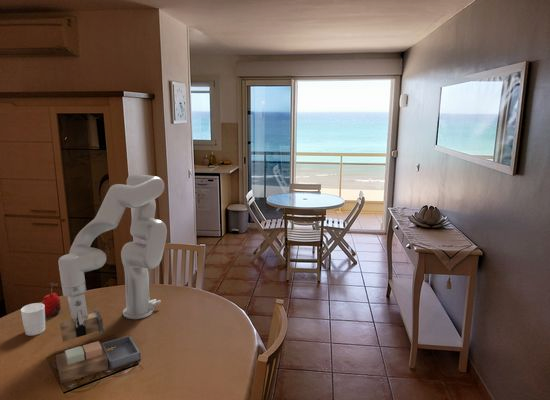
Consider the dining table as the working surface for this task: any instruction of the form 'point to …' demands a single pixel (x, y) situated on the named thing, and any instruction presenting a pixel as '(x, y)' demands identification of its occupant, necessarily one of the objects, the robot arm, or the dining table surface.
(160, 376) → the dining table surface
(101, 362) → the wooden block
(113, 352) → the tray
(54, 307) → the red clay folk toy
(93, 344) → the tile terracotta
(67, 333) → the scraper
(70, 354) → the tile sage
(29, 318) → the white cup
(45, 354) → the dining table surface
